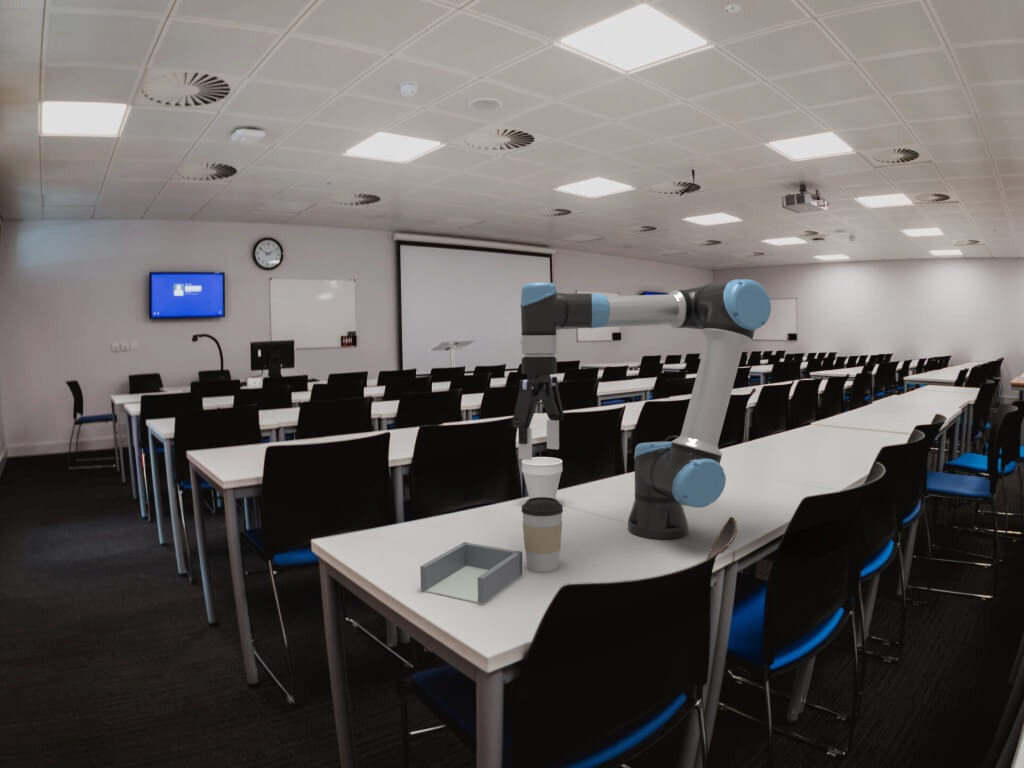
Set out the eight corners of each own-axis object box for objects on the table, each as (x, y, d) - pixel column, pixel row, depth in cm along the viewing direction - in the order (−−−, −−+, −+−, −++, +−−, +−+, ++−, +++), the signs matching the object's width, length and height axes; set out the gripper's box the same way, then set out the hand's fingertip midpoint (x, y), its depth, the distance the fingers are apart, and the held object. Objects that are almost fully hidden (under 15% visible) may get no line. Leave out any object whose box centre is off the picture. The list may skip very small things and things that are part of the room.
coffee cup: (520, 560, 137) (519, 494, 136) (559, 558, 138) (559, 493, 137) (524, 575, 128) (523, 505, 127) (566, 573, 129) (566, 503, 128)
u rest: (522, 575, 128) (522, 551, 128) (483, 604, 114) (483, 578, 114) (464, 564, 135) (464, 542, 135) (420, 590, 121) (420, 566, 120)
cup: (546, 498, 191) (546, 455, 190) (571, 506, 181) (571, 461, 180) (514, 504, 184) (513, 459, 183) (537, 513, 174) (537, 466, 173)
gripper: (548, 354, 143) (548, 443, 145) (494, 357, 121) (495, 462, 123) (577, 354, 140) (577, 446, 141) (528, 357, 118) (528, 465, 119)
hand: (539, 453), depth 132 cm, fingers open, 13 cm apart
